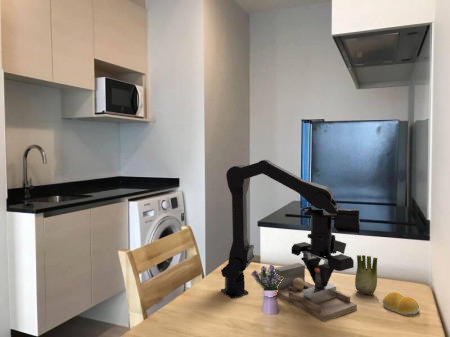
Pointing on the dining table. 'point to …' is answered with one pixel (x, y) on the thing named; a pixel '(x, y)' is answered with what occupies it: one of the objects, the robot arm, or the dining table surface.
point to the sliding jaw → (319, 289)
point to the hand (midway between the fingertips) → (320, 284)
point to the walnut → (298, 283)
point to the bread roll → (401, 303)
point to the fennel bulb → (366, 275)
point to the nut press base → (295, 297)
